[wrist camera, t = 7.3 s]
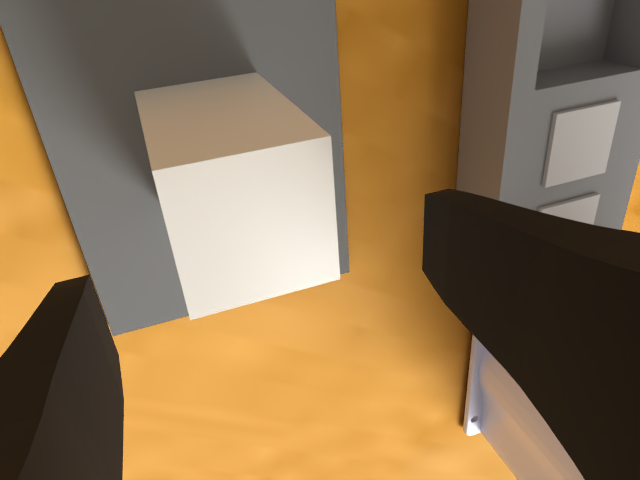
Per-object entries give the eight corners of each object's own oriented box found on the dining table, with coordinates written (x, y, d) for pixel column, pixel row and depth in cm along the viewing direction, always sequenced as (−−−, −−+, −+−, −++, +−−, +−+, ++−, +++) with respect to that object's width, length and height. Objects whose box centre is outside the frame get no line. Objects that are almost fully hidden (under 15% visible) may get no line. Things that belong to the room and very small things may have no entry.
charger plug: (270, 180, 20) (340, 278, 14) (162, 203, 19) (190, 320, 13) (256, 72, 18) (330, 135, 12) (134, 91, 17) (151, 171, 11)
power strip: (566, 238, 28) (617, 272, 25) (450, 272, 26) (492, 311, 23) (653, -200, 19) (750, -224, 16) (481, -195, 17) (557, -222, 14)
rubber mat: (345, 266, 24) (349, 272, 23) (112, 328, 21) (113, 336, 21) (323, -108, 16) (329, -110, 16) (-35, -83, 14) (-40, -84, 13)
